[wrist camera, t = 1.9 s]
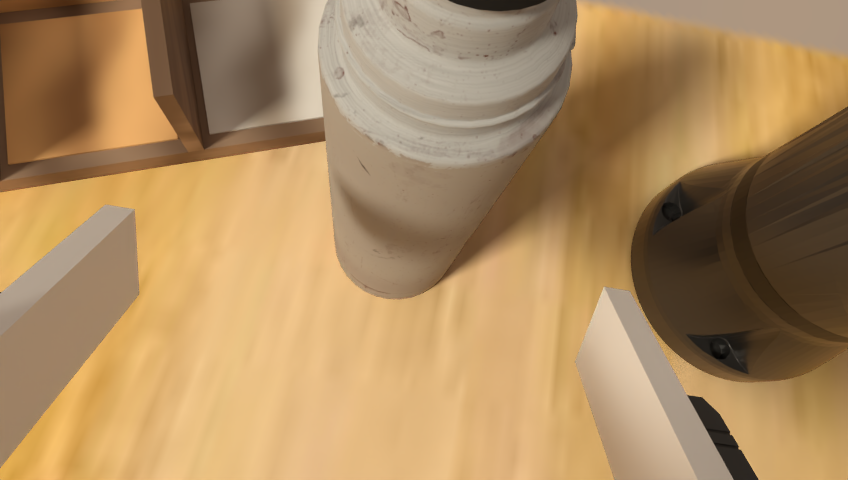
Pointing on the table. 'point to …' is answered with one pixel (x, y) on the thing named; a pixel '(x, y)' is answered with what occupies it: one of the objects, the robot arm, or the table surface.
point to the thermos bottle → (431, 123)
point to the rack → (152, 84)
